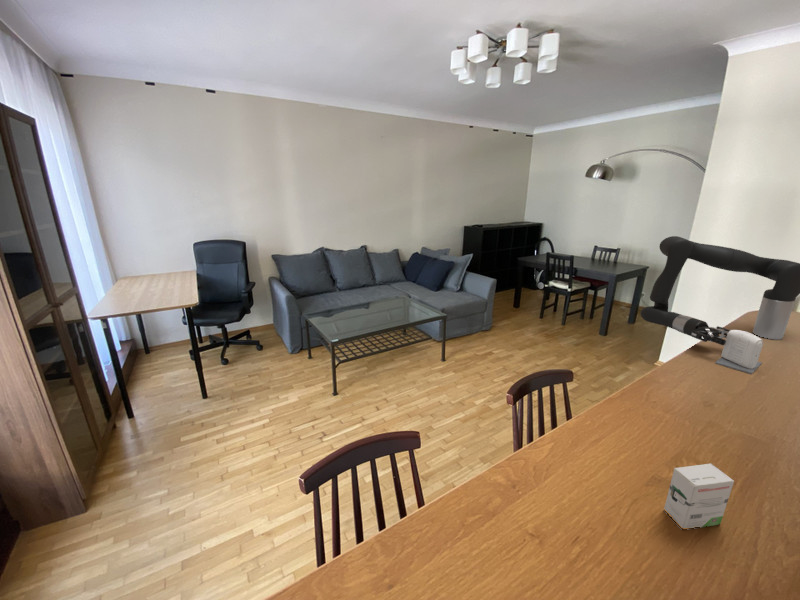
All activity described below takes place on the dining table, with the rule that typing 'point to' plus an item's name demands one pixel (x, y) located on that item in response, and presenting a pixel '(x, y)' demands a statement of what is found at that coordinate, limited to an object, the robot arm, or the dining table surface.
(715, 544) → the dining table surface
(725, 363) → the rubber mat
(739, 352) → the photo printer
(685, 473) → the ink box
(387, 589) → the dining table surface
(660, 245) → the robot arm
